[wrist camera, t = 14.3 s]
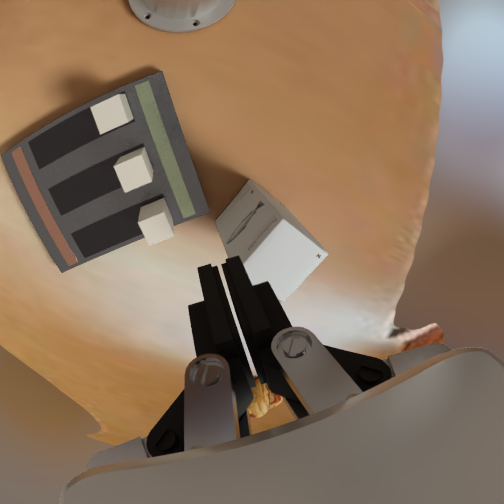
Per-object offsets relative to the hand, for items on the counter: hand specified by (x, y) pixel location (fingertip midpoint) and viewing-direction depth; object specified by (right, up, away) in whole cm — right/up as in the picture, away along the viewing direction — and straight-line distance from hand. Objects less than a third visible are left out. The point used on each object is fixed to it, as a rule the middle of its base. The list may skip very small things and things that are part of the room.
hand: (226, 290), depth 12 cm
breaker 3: (-10, +6, +23) cm, 25 cm away
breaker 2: (-12, +11, +19) cm, 25 cm away
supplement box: (+1, +7, +28) cm, 29 cm away
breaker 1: (-13, +16, +15) cm, 26 cm away
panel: (-17, +10, +20) cm, 28 cm away
